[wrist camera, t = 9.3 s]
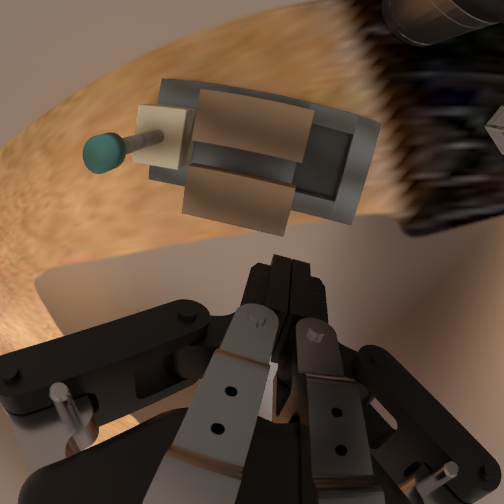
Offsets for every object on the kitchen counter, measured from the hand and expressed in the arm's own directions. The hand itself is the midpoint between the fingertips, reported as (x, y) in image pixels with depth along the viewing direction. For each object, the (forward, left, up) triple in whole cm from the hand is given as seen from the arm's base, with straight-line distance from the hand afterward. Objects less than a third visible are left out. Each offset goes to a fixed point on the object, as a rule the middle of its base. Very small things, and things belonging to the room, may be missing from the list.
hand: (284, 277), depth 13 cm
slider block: (-1, -16, -28) cm, 32 cm away
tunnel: (-1, -5, -30) cm, 31 cm away
